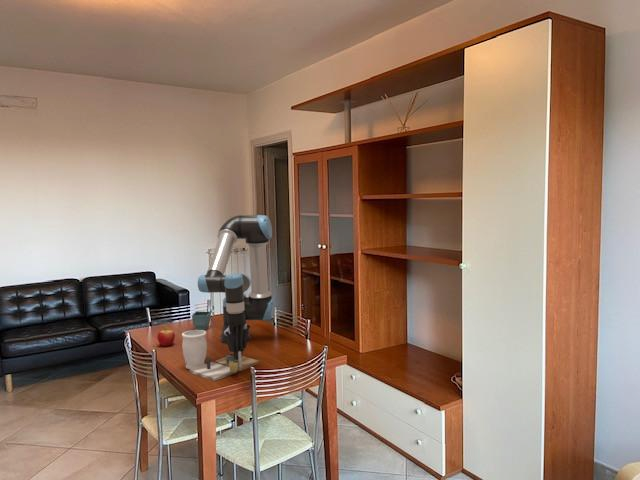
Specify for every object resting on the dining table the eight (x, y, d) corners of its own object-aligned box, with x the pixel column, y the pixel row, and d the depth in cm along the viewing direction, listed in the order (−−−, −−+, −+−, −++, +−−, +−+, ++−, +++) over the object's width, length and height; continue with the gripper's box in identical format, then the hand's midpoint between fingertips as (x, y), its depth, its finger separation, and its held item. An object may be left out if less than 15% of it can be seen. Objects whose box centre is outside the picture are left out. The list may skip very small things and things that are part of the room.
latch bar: (225, 359, 211) (225, 351, 211) (234, 358, 212) (234, 350, 212) (229, 371, 196) (228, 363, 196) (238, 370, 198) (238, 362, 197)
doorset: (189, 372, 203) (189, 358, 202) (234, 356, 222) (234, 343, 222) (214, 381, 193) (214, 366, 192) (259, 363, 213) (259, 350, 212)
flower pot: (207, 331, 266) (207, 315, 265) (192, 331, 266) (191, 315, 265) (211, 326, 275) (211, 311, 274) (196, 326, 275) (195, 311, 274)
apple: (154, 345, 241) (153, 326, 240) (169, 341, 247) (169, 322, 246) (162, 349, 235) (162, 329, 234) (178, 345, 241) (177, 325, 240)
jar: (185, 362, 215) (184, 329, 214) (209, 361, 216) (208, 329, 215) (180, 371, 204) (179, 336, 203) (205, 370, 205) (204, 335, 204)
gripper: (241, 307, 207) (244, 360, 210) (217, 313, 198) (220, 368, 200) (253, 309, 202) (256, 363, 205) (228, 316, 193) (232, 372, 195)
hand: (238, 366), depth 202 cm, fingers closed
